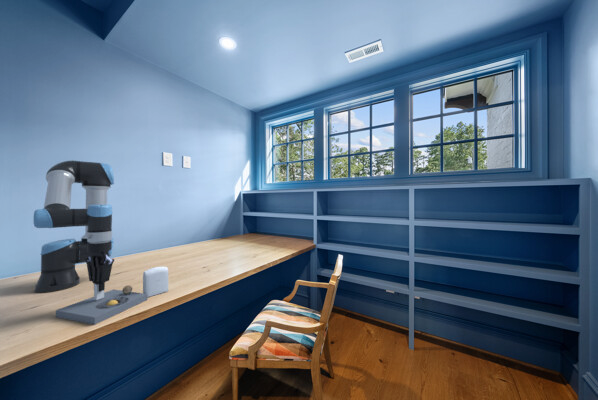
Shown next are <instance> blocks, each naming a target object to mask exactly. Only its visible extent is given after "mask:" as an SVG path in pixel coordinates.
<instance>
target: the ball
mask: <svg viewBox="0 0 598 400" xmlns="http://www.w3.org/2000/svg"><path fill="white" fill-rule="evenodd" d="M117 303H118V302H117V301H116V300H111V301H109V302H108V303H107V306H110V305H115V304H117Z"/></svg>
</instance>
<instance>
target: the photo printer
mask: <svg viewBox="0 0 598 400" xmlns="http://www.w3.org/2000/svg"><path fill="white" fill-rule="evenodd" d="M168 291H169V268H168V267H167V266H157V267H156V266H155V267H153V268H149V269H146V270H145V271H143V273H142V293H143V294H148V298H149V297H154V296H156V295H160V294H164V293H166V292H168Z"/></svg>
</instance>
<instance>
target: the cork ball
mask: <svg viewBox="0 0 598 400" xmlns="http://www.w3.org/2000/svg"><path fill="white" fill-rule="evenodd" d="M122 292H123V293H124V294H129V293H130V292H133V287H132V285H125V286H124V287H123V288H122Z"/></svg>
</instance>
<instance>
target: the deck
mask: <svg viewBox="0 0 598 400" xmlns="http://www.w3.org/2000/svg"><path fill="white" fill-rule="evenodd" d="M122 290H123V289H122ZM122 290H121V289H110V290H108V291H104V298H101V299H98V300H94V296H92V297H88V298H86V299H83V300H81V301H78V302H75V303H72V304H70V305H67V306H64V307H61V308H59V309H56V310H55V317H56V318H59V319H65V320H69V321H75V322H79V323H83V324H84V323H85V324H90V325H95V326H96V325H97V324H99V323H101V322H103V321H106V320H108V319H110V318H112V317H114V316H116V315H118V314H120V313H123V312H125V311H127V310H129V309H131V308H133V307H135V306H138V305H139V304H141V303H144V302H146V301H148V298H149V297H148V294H143V292H136V291H135V292H134V291H131V292H130V293H129V294H124V293H123V292H122ZM111 300H116V301H117V302H118V303H117V304H115V305H110V306H107V303H108V302H109V301H111Z"/></svg>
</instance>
